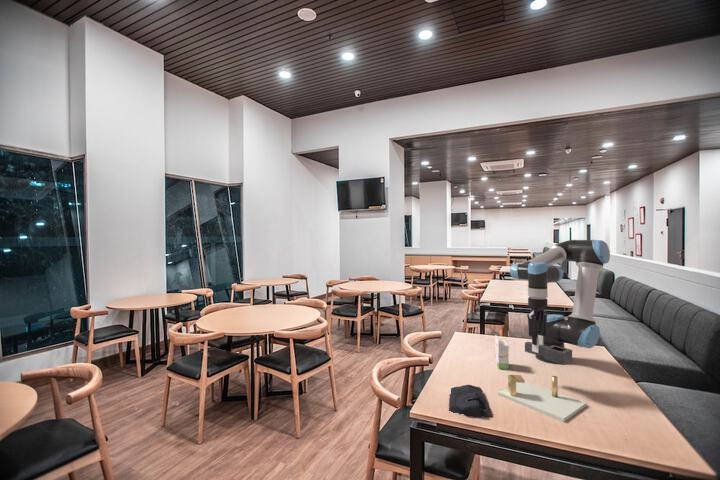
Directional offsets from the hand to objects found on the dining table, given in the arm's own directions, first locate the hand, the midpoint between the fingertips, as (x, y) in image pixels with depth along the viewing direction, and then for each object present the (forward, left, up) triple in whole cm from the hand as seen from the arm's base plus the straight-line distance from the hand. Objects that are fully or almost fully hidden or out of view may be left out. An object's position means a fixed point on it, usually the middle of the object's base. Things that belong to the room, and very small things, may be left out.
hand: (537, 350), depth 147 cm
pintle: (+8, +11, -14) cm, 19 cm away
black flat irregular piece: (+37, -8, -16) cm, 41 cm away
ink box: (-7, -21, -15) cm, 27 cm away
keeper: (+18, +1, -15) cm, 23 cm away
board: (+13, +8, -15) cm, 21 cm away
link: (0, +4, -1) cm, 4 cm away
